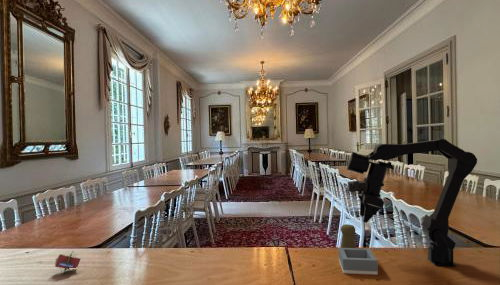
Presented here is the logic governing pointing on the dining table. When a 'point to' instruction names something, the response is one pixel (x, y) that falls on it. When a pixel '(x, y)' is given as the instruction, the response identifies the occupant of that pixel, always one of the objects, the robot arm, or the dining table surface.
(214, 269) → the dining table surface
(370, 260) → the box
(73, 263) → the geometric puzzle
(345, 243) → the cork
